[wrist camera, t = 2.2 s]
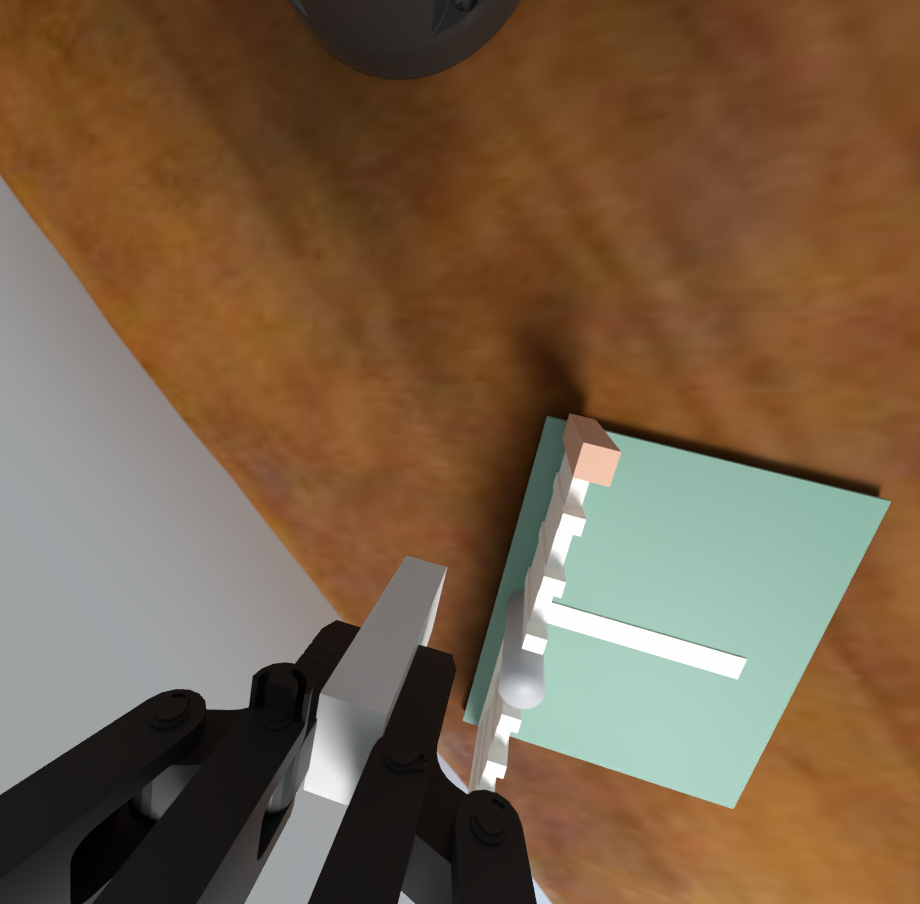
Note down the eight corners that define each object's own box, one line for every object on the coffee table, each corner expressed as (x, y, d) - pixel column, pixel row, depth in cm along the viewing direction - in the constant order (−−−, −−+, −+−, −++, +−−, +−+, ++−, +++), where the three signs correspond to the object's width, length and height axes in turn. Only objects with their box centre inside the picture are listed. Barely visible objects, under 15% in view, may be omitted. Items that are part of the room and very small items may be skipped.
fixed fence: (513, 580, 31) (504, 663, 23) (546, 590, 31) (550, 677, 23) (472, 724, 35) (452, 841, 26) (502, 734, 34) (491, 855, 26)
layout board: (546, 415, 28) (547, 417, 28) (883, 498, 26) (892, 502, 25) (464, 714, 34) (462, 721, 34) (729, 800, 32) (733, 810, 32)
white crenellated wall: (569, 413, 27) (583, 442, 19) (595, 419, 27) (621, 452, 19) (520, 582, 30) (514, 670, 22) (543, 588, 30) (546, 679, 22)
